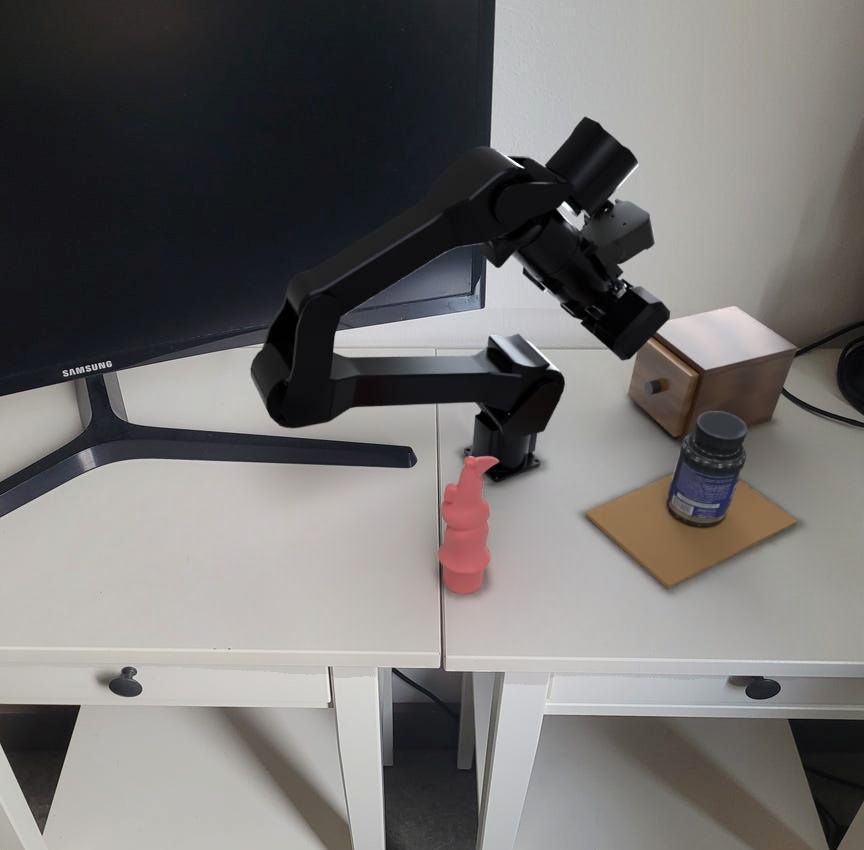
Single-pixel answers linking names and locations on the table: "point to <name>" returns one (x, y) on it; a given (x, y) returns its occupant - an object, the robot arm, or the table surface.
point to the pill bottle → (708, 470)
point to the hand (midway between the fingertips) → (629, 330)
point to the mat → (685, 530)
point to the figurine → (466, 528)
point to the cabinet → (730, 363)
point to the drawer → (663, 385)
